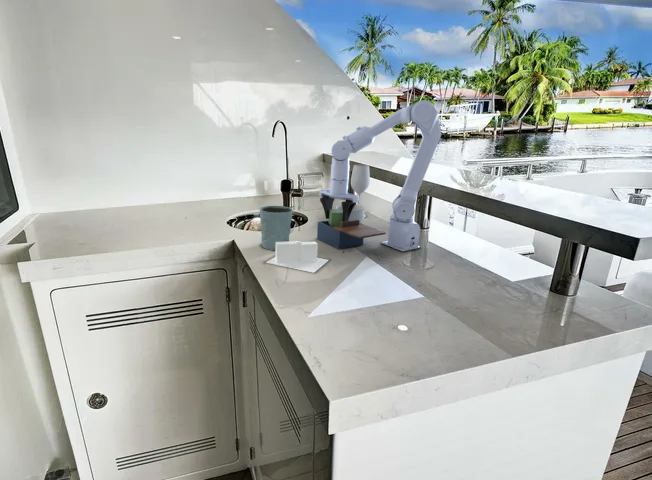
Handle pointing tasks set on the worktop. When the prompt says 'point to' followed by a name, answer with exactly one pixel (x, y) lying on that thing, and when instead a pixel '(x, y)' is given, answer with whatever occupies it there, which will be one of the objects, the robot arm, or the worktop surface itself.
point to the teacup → (355, 212)
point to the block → (335, 217)
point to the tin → (336, 236)
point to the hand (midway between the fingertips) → (336, 220)
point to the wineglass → (360, 179)
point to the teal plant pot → (275, 225)
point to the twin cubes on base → (298, 256)
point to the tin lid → (358, 229)
